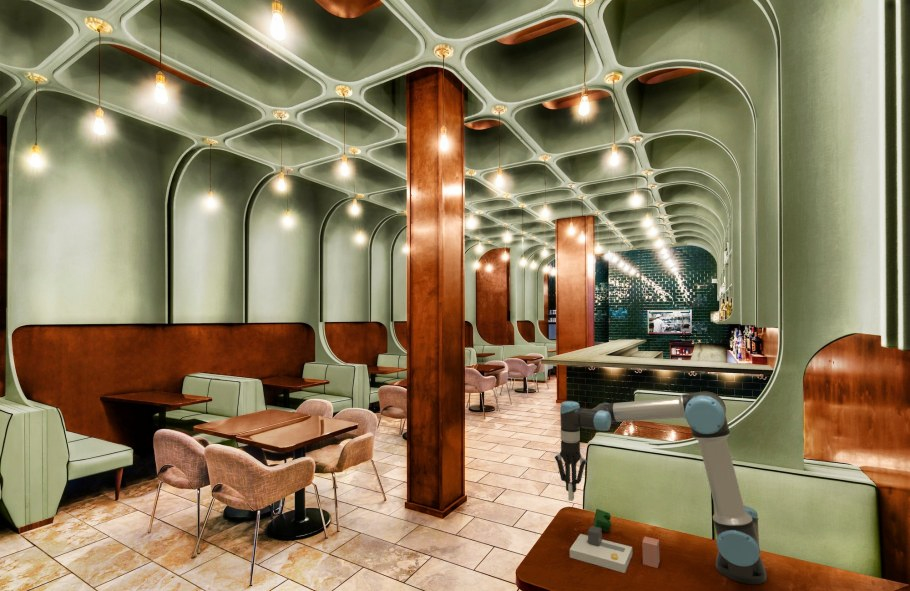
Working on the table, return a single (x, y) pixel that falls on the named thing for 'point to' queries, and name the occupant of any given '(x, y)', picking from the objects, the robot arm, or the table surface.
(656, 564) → the post
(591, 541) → the breaker toggle
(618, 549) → the block
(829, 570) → the table surface
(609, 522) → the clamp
